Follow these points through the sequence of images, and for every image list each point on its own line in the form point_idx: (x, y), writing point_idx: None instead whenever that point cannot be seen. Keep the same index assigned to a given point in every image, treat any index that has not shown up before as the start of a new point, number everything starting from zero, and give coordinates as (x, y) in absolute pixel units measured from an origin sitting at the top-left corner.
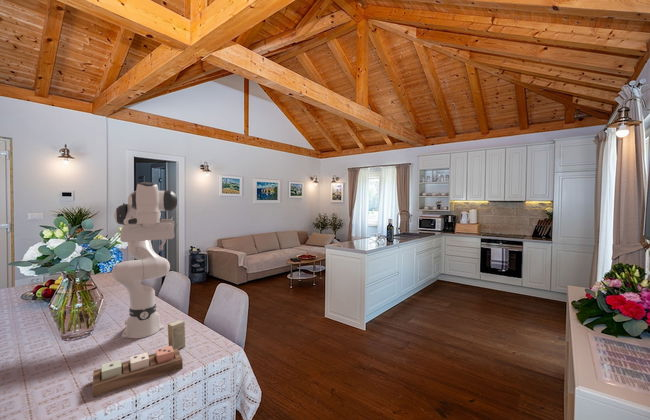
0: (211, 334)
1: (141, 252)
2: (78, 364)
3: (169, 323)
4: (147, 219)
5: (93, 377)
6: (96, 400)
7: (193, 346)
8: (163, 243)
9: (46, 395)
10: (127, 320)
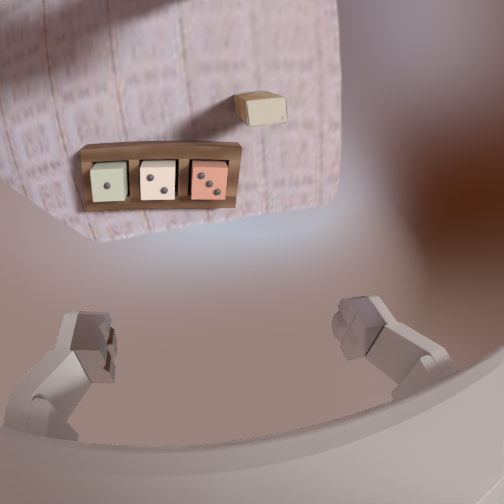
0: (335, 96)
1: None
2: (61, 57)
3: (250, 102)
4: None
5: (83, 179)
6: (97, 213)
7: None
8: (391, 374)
9: (30, 154)
10: None
